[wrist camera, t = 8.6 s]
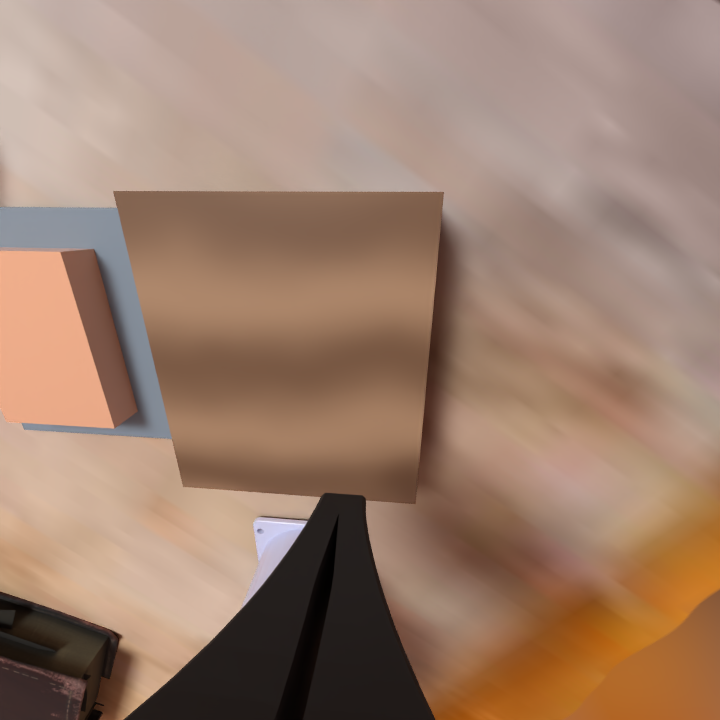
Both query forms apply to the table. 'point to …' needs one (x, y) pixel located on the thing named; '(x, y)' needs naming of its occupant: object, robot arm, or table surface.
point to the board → (289, 334)
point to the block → (59, 341)
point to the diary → (50, 662)
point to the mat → (113, 260)
